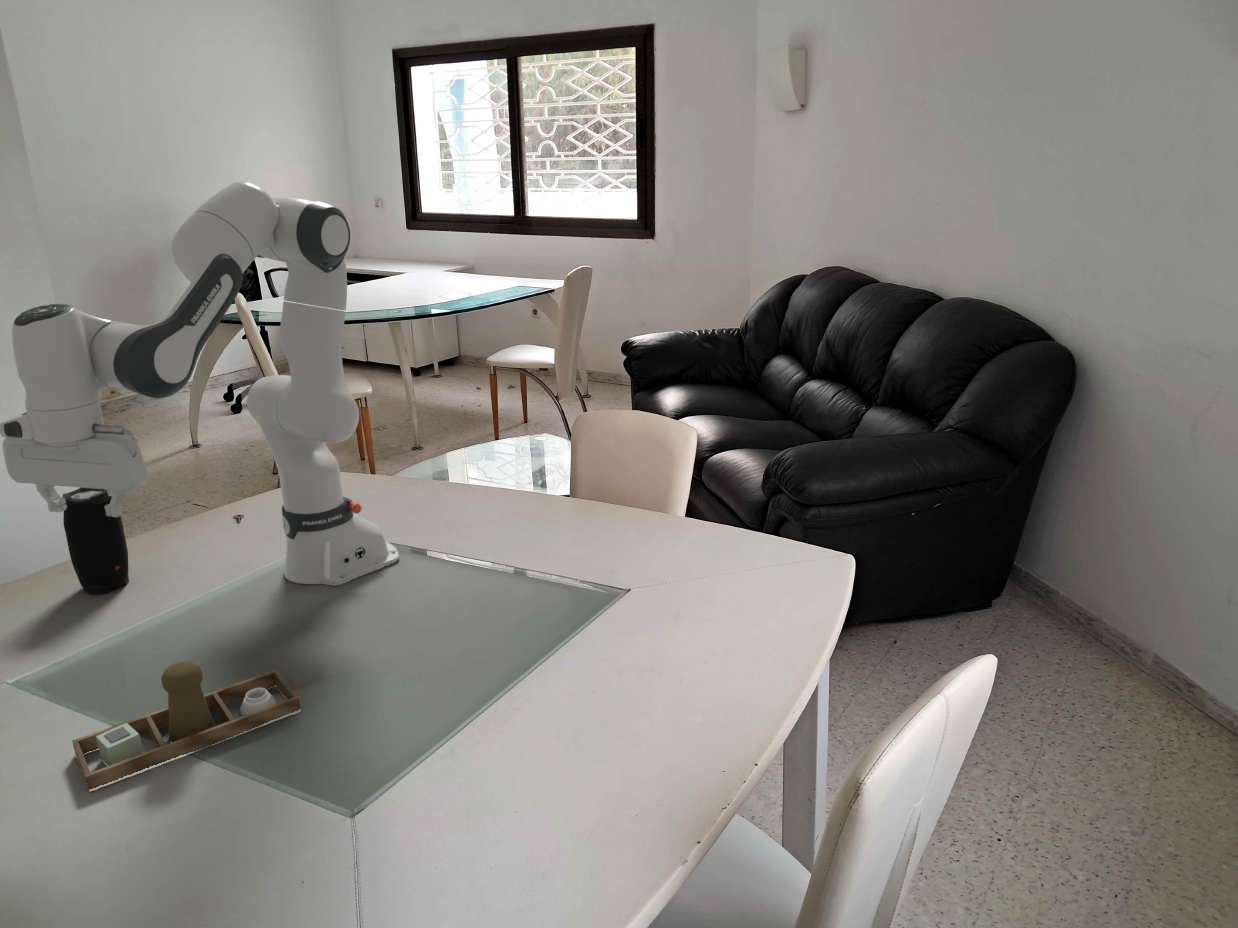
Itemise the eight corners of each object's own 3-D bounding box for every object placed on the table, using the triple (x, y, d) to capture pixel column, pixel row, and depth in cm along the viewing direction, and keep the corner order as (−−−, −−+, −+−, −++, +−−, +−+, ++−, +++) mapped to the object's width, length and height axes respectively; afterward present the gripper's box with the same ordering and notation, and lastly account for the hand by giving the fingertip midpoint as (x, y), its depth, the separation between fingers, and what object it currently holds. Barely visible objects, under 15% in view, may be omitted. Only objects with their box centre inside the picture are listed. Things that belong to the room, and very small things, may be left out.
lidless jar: (283, 708, 132) (265, 696, 135) (280, 691, 131) (262, 679, 134) (252, 724, 128) (234, 711, 131) (249, 707, 127) (231, 694, 130)
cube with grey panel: (131, 746, 123) (126, 721, 122) (144, 758, 121) (138, 733, 119) (101, 760, 120) (95, 735, 119) (113, 773, 118) (107, 747, 116)
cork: (197, 748, 122) (185, 681, 119) (159, 743, 124) (146, 676, 120) (224, 722, 128) (213, 657, 124) (187, 717, 129) (175, 653, 125)
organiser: (278, 683, 138) (276, 669, 137) (301, 711, 131) (299, 697, 130) (75, 755, 121) (72, 740, 120) (89, 792, 114) (85, 776, 113)
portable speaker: (138, 585, 169) (120, 491, 162) (84, 601, 163) (62, 504, 156) (126, 570, 175) (108, 479, 168) (73, 585, 169) (52, 491, 162)
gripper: (148, 420, 124) (164, 510, 129) (23, 412, 128) (43, 500, 132) (116, 433, 118) (135, 527, 123) (-14, 424, 122) (9, 516, 126)
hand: (86, 513), depth 128 cm, fingers open, 8 cm apart
